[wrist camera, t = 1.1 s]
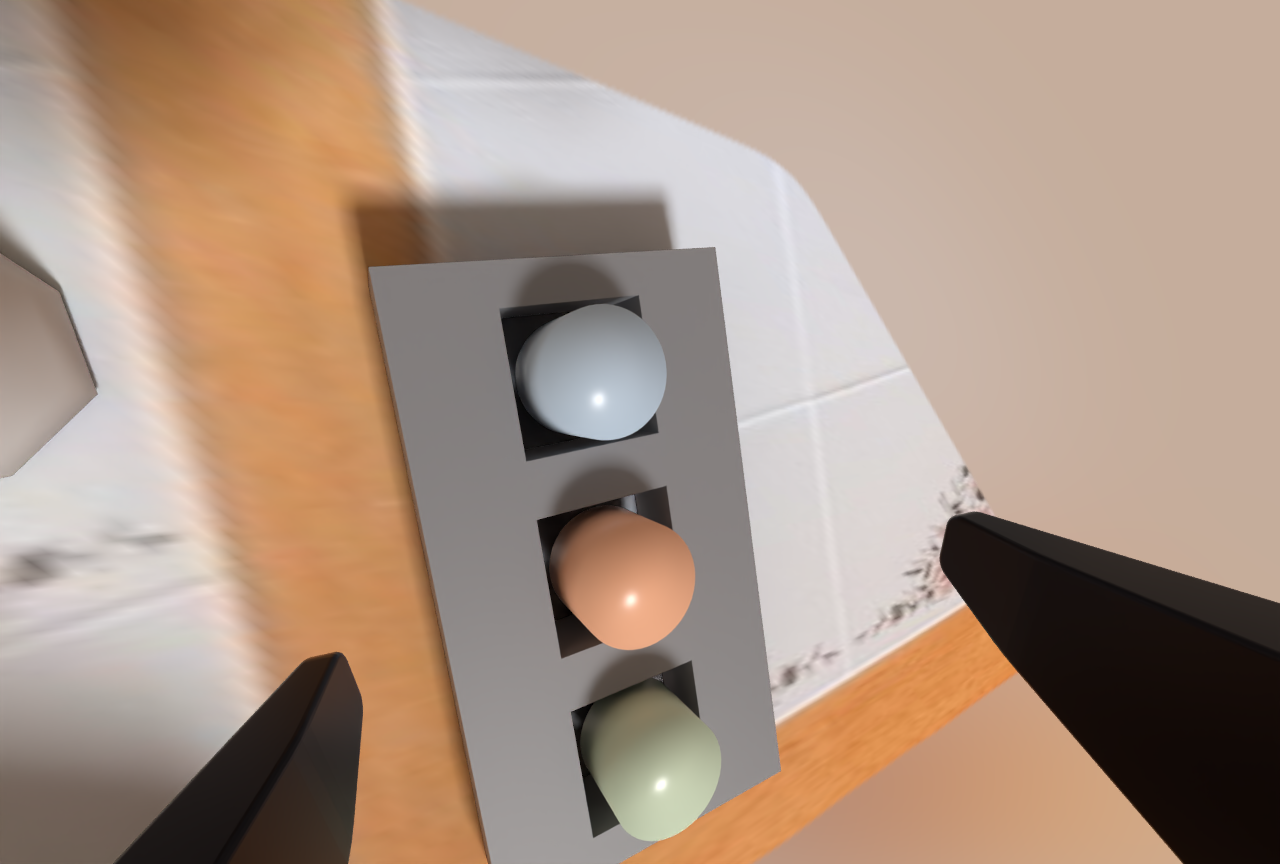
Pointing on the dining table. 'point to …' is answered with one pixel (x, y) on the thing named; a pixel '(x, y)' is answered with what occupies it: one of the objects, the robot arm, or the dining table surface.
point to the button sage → (650, 759)
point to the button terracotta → (622, 576)
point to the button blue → (592, 373)
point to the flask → (35, 366)
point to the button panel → (557, 483)
